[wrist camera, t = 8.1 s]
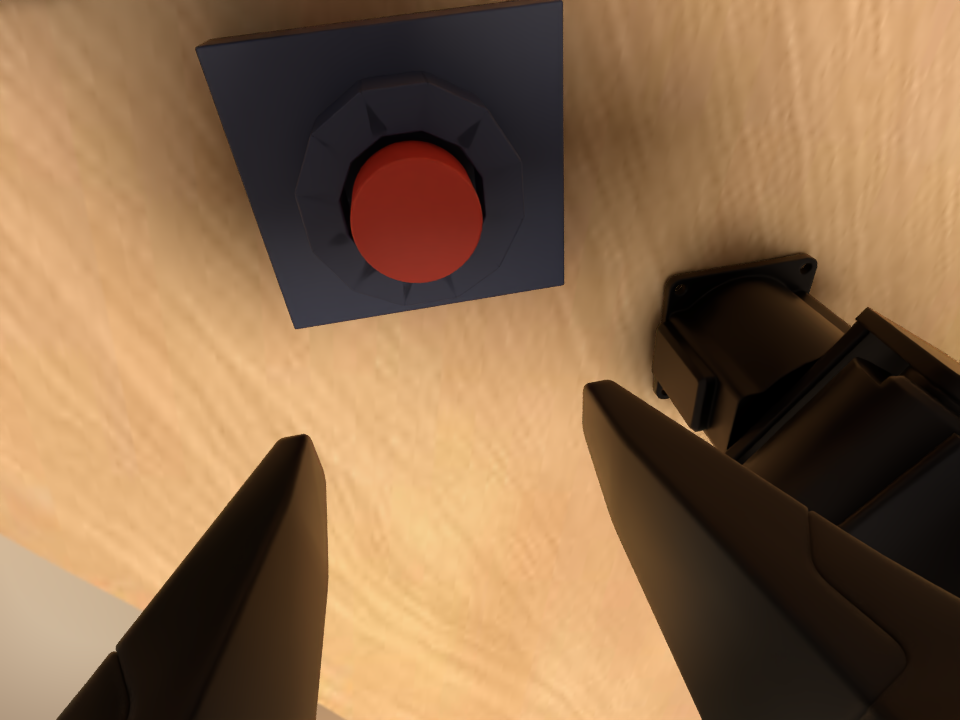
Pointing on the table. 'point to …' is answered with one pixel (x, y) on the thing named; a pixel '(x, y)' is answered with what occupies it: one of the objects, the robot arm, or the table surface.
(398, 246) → the button
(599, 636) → the table surface
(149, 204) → the table surface
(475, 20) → the button housing
